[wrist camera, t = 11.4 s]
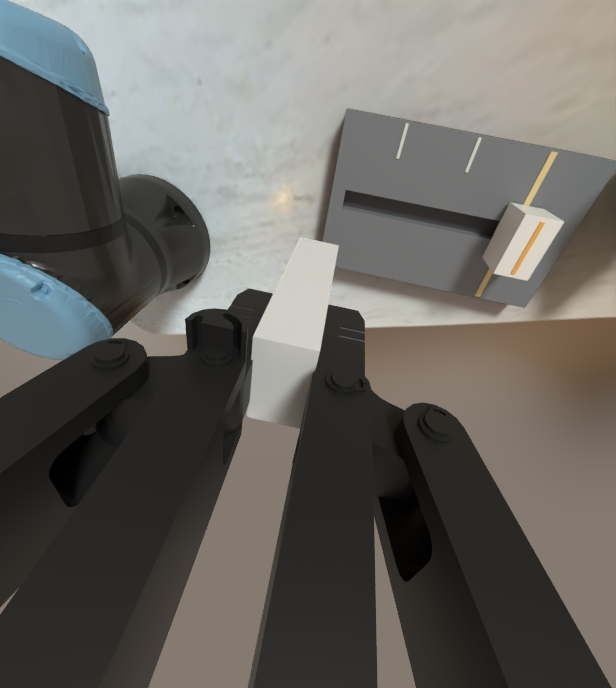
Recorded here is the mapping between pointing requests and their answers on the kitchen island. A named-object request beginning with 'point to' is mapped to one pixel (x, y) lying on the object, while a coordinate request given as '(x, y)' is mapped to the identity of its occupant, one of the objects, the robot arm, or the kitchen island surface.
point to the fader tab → (521, 240)
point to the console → (448, 202)
